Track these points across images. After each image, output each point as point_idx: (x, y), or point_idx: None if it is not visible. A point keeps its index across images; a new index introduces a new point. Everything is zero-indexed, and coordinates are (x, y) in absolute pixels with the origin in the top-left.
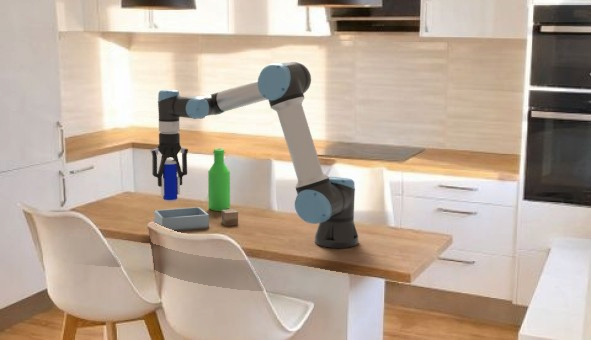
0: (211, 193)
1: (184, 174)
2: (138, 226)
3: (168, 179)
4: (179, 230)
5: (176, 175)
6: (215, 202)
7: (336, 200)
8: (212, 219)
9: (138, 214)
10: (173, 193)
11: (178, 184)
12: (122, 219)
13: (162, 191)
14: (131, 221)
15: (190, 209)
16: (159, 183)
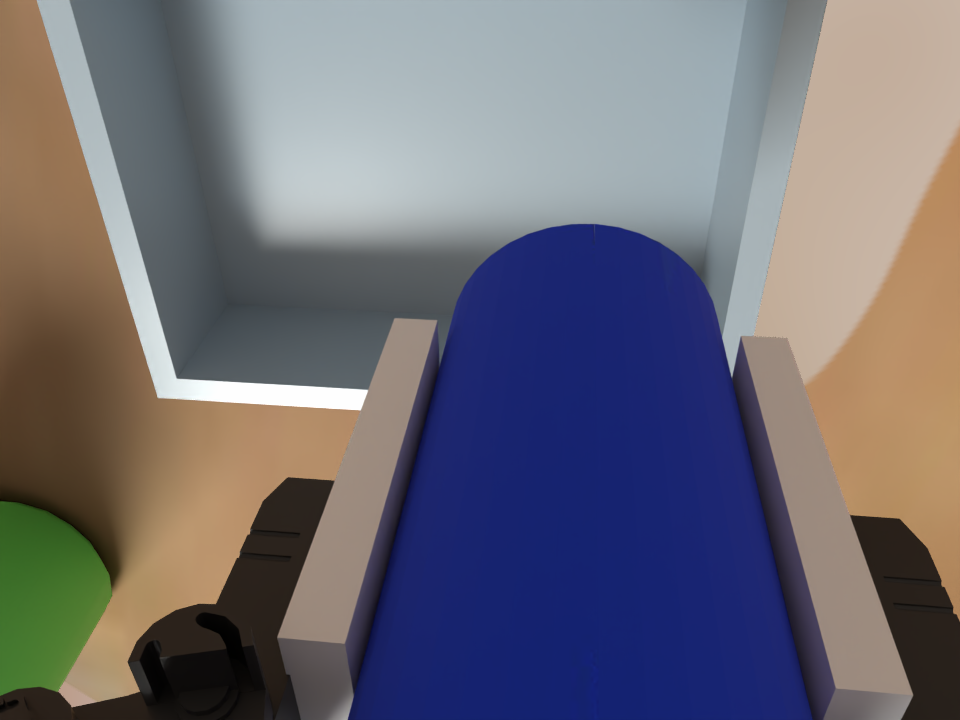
0: (3, 668)
1: (70, 711)
2: (934, 281)
3: (698, 590)
4: None
5: (366, 715)
6: (13, 569)
7: None
8: (81, 266)
9: None
10: (547, 296)
11: (372, 471)
12: (935, 558)
13: (800, 398)
14: (895, 476)
15: (276, 372)
16: (915, 589)
